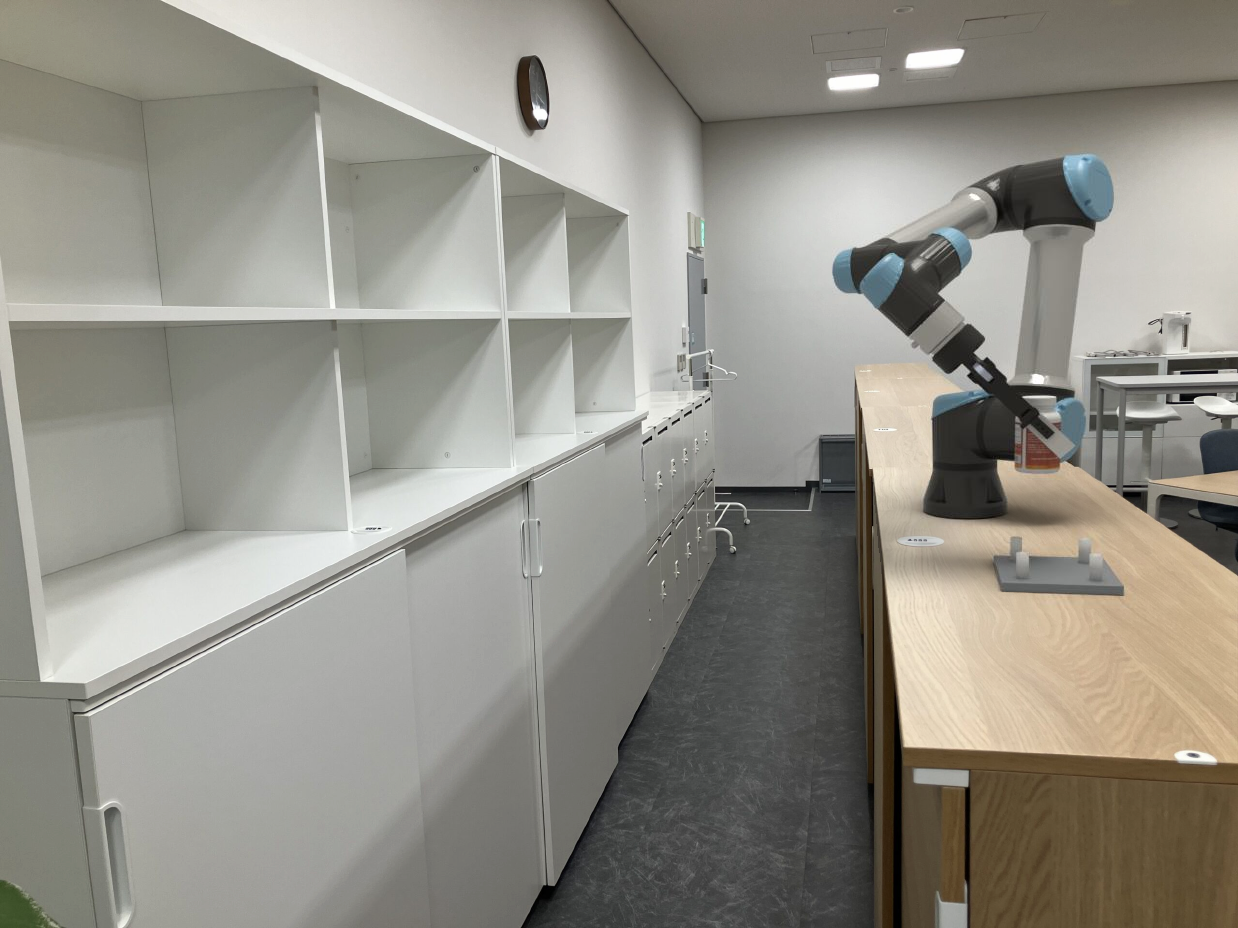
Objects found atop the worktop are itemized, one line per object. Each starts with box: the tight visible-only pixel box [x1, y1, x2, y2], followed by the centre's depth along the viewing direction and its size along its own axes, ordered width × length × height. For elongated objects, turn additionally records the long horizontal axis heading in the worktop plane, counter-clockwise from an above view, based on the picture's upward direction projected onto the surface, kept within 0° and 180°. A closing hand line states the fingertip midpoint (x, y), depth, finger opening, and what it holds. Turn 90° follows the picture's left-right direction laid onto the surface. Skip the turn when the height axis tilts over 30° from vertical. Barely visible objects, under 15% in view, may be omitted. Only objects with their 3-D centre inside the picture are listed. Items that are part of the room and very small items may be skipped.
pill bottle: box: [1014, 396, 1061, 475], centre depth 137 cm, size 6×6×11 cm
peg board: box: [993, 536, 1125, 596], centre depth 132 cm, size 15×15×5 cm
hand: (1064, 448), depth 136 cm, fingers closed on pill bottle, 6 cm apart
